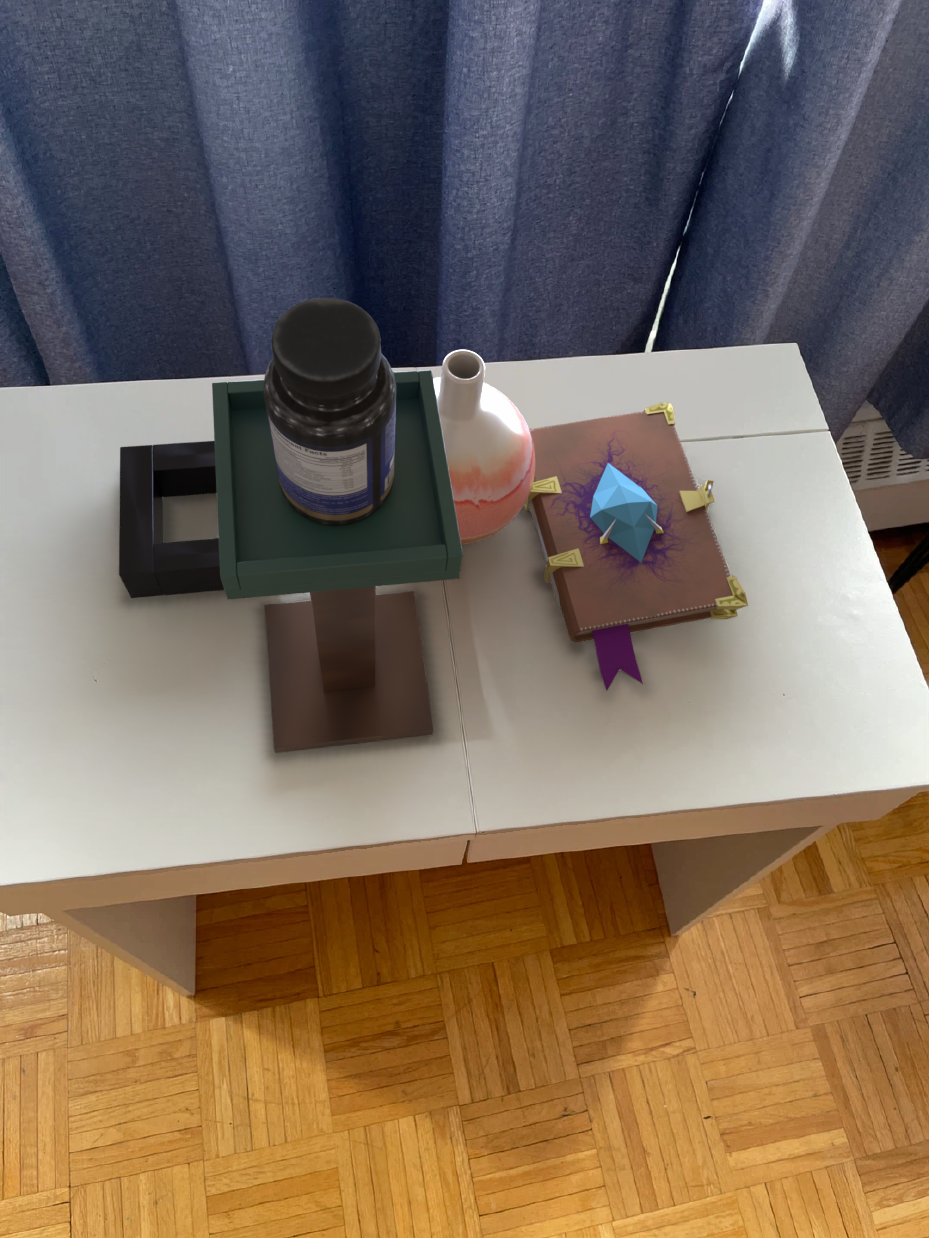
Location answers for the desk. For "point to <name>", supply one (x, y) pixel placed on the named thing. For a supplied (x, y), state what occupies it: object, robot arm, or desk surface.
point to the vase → (482, 448)
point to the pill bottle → (331, 411)
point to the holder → (141, 520)
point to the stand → (346, 669)
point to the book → (626, 532)
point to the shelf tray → (323, 554)
